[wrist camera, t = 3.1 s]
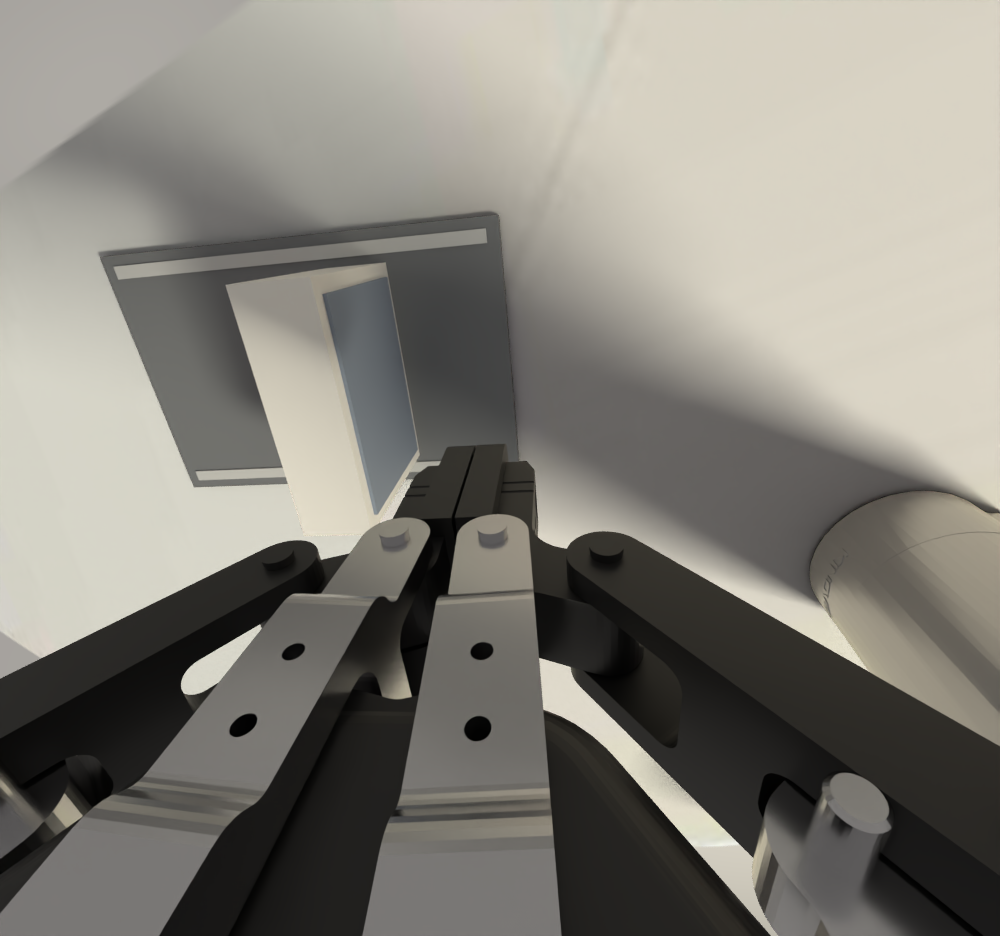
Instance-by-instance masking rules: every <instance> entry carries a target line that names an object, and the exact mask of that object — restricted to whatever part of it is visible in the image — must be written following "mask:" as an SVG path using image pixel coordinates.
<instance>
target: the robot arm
mask: <svg viewBox="0 0 1000 936" xmlns="http://www.w3.org/2000/svg"><path fill="white" fill-rule="evenodd" d="M810 581H811V586H812V590H813V592H814V593H815V595H816V597H817V599H818V600H819V602H820V603H821V605H822V606H823V607H824V609H825V610H826V612H827V613H828V615H829V616H830V617H831V619H832V620H833V621H834V623H835V624H836V626H837V627H838V628H839V630H840V631H841V633H842V634H843V635H844V637H845V638H846V640H847V641H848V642H849V644H850V645H851V647H852V648H853V650H854V651H855V653H856V654H857V655H858V657H859V658H860V660H861V661H862V662H863V664H864V665H865V667H866V668H867V669H868V671H869V672H868V671H867V670H865V669H863V668H861V667H860V666H858V665H856V664H854V663H852V662H851V661H849V660H847V659H845V658H844V657H842V656H840V655H838V654H837V653H835V652H833V651H831V650H830V649H828V648H826V647H824V646H823V645H821V644H819V643H817V642H815V641H814V640H812V639H810V638H808V637H807V636H805V635H803V634H801V633H800V632H798V631H796V630H794V629H793V628H791V627H789V626H787V625H786V624H784V623H782V622H780V621H778V620H777V619H775V618H773V617H771V616H770V615H768V614H766V613H764V612H763V611H761V610H759V609H757V608H756V607H754V606H752V605H750V604H749V603H747V602H745V601H743V600H741V599H740V598H738V597H736V596H734V595H733V594H731V593H729V592H727V591H726V590H724V589H722V588H720V587H719V586H717V585H715V584H713V583H712V582H710V581H708V580H706V579H705V578H703V577H701V576H699V575H697V574H696V573H694V572H692V571H690V570H689V569H687V568H685V567H683V566H682V565H680V564H678V563H676V562H675V561H673V560H671V559H669V558H668V557H666V556H664V555H662V554H660V553H659V552H657V551H655V550H653V549H652V548H650V547H648V546H646V545H645V544H643V543H641V542H639V541H638V540H636V539H634V538H632V537H630V536H627V535H624V534H621V533H616V532H605V531H603V532H593V533H588V534H585V535H582V536H580V537H578V538H576V539H575V540H574V541H572V542H571V543H570V545H569V546H568V548H567V549H564V548H560V547H555V546H552V545H549V544H547V543H545V542H543V541H542V540H540V539H539V538H538V514H537V499H536V485H535V471H534V469H533V468H532V467H531V466H530V464H529V463H528V462H527V461H519V462H508V452H507V446H506V444H489V445H477V447H476V445H471V446H453V447H447V448H446V450H445V453H444V455H443V457H442V459H441V462H440V464H439V466H427V467H426V468H425V469H423V470H422V471H421V472H419V473H418V474H417V475H416V476H415V477H414V479H413V481H412V483H411V485H410V488H409V489H408V491H407V492H406V494H405V497H404V498H403V500H402V502H401V504H400V506H399V508H398V510H397V512H396V514H395V515H394V517H393V519H391V520H387V521H384V522H382V523H379V524H377V525H375V526H373V527H372V528H370V529H369V530H368V531H366V532H365V533H364V535H363V536H362V537H361V538H360V540H359V541H358V543H357V544H356V545H355V547H354V548H353V550H352V551H351V552H350V553H349V554H345V555H341V556H337V557H332V558H328V559H323V560H321V559H320V556H319V553H318V549H317V547H316V546H315V545H314V544H312V543H311V542H307V541H301V540H295V541H287V542H282V543H279V544H275V545H273V546H270V547H268V548H265V549H263V550H261V551H259V552H257V553H255V554H253V555H251V556H249V557H247V558H245V559H243V560H241V561H239V562H237V563H235V564H233V565H231V566H229V567H227V568H225V569H223V570H221V571H218V572H216V573H214V574H212V575H210V576H208V577H206V578H204V579H202V580H200V581H198V582H196V583H194V584H192V585H190V586H188V587H186V588H184V589H182V590H180V591H178V592H176V593H174V594H172V595H170V596H168V597H166V598H164V599H161V600H159V601H157V602H155V603H153V604H151V605H149V606H147V607H145V608H143V609H141V610H139V611H137V612H135V613H133V614H131V615H129V616H127V617H125V618H123V619H121V620H119V621H117V622H115V623H113V624H111V625H109V626H107V627H104V628H102V629H100V630H98V631H96V632H94V633H92V634H90V635H88V636H86V637H84V638H82V639H80V640H78V641H76V642H74V643H72V644H70V645H68V646H66V647H64V648H62V649H60V650H58V651H56V652H54V653H52V654H50V655H47V656H45V657H43V658H41V659H39V660H37V661H35V662H33V663H31V664H29V665H28V666H25V667H23V668H21V669H19V670H17V671H15V672H13V673H11V674H9V675H7V676H5V677H3V678H1V679H0V936H770V934H769V933H768V932H767V931H766V930H765V929H764V928H763V926H762V925H761V924H760V923H759V922H758V921H757V920H756V918H755V917H754V916H753V915H752V914H751V913H750V912H749V911H748V909H747V908H746V907H745V906H744V905H743V903H742V902H741V901H740V900H739V899H738V898H737V897H736V895H735V894H734V893H733V892H732V891H731V890H730V889H729V887H728V886H727V885H726V884H725V883H724V882H723V881H722V880H721V878H719V876H718V875H717V874H716V873H715V871H714V870H713V869H712V868H711V867H710V866H709V865H708V863H707V862H706V861H705V860H704V859H703V858H702V857H701V856H700V854H699V853H698V852H697V851H696V850H695V849H694V847H693V846H692V845H691V844H690V843H689V842H688V841H687V839H686V838H685V837H684V836H683V835H682V834H681V833H680V831H679V830H678V829H677V828H676V827H675V826H674V825H673V823H672V822H671V821H670V820H669V819H668V818H667V817H666V815H665V814H664V813H663V812H662V811H661V810H660V809H659V807H658V806H657V805H656V804H655V803H654V802H653V801H652V799H651V798H650V797H649V796H648V795H647V794H646V793H645V791H644V790H643V789H642V788H641V787H640V786H639V785H638V783H637V782H636V781H635V780H634V779H633V778H632V777H631V775H630V774H629V773H628V772H627V771H626V770H625V769H624V767H623V766H622V765H621V764H620V763H619V762H618V761H617V759H616V758H615V757H614V756H613V755H612V754H611V753H610V752H609V751H608V750H607V749H606V748H605V747H604V746H603V745H602V744H601V743H600V742H598V741H597V740H596V739H595V738H594V737H593V736H591V735H590V734H589V733H587V732H586V731H584V730H583V729H581V728H580V727H579V726H577V725H576V724H574V723H572V722H570V721H568V720H566V719H565V718H563V717H561V716H558V715H556V714H553V713H551V712H548V711H546V710H543V701H542V689H541V677H540V664H539V658H542V659H545V660H549V661H552V662H556V663H559V664H563V665H566V666H570V667H571V672H572V675H573V677H574V679H575V681H576V682H577V683H578V685H579V686H580V687H581V688H582V689H583V690H584V691H585V692H586V693H587V694H588V695H589V696H590V697H591V698H592V699H593V700H594V701H595V702H596V703H597V704H598V705H599V706H600V707H601V708H602V709H603V710H604V711H605V712H606V713H607V714H608V715H609V716H610V717H611V718H612V719H613V720H615V721H616V722H617V723H618V724H619V725H620V726H621V727H622V728H623V729H624V730H625V731H626V732H627V733H628V734H629V735H630V736H631V737H632V738H633V739H634V740H635V741H636V742H637V743H638V744H639V745H640V746H641V747H642V748H643V749H644V750H645V751H646V752H647V753H648V754H649V755H650V756H651V757H652V758H653V759H654V760H655V761H656V762H657V763H658V764H659V765H660V766H661V767H662V768H663V769H664V770H665V771H666V772H667V773H668V774H669V775H670V776H671V777H672V778H673V779H674V780H675V781H676V782H677V783H678V784H679V785H680V786H681V787H682V788H683V789H684V790H685V791H686V792H687V793H688V794H689V795H690V796H691V797H692V798H693V799H694V800H695V801H696V802H697V803H698V804H699V805H700V806H701V807H702V808H703V809H704V810H705V811H706V812H707V813H708V814H709V815H710V816H712V817H713V818H714V819H715V820H716V821H717V822H718V823H719V824H720V825H721V826H722V827H723V828H724V829H725V830H726V831H727V832H728V833H729V834H730V835H731V836H732V837H733V838H734V839H735V840H736V841H737V842H738V843H739V844H740V845H741V846H742V847H743V848H744V849H745V850H746V851H747V852H748V853H749V854H750V855H751V856H752V857H753V864H752V879H753V884H754V889H755V893H756V896H757V899H758V902H759V904H760V906H761V908H762V910H763V913H764V915H765V917H766V918H767V920H768V921H769V923H770V925H771V926H772V928H773V929H774V931H775V932H776V933H777V934H778V936H1000V513H986V512H984V511H983V510H981V509H979V508H978V507H976V506H975V505H973V504H972V503H970V502H969V501H967V500H965V499H962V498H960V497H957V496H955V495H952V494H948V493H941V492H935V491H911V492H905V493H900V494H894V495H890V496H887V497H884V498H881V499H878V500H875V501H872V502H870V503H868V504H866V505H864V506H862V507H860V508H858V509H856V510H854V511H853V512H851V513H850V514H849V515H847V516H846V517H844V518H843V519H842V520H840V521H839V522H838V523H836V524H835V526H834V527H833V528H832V529H831V530H830V531H829V532H828V533H827V534H826V535H825V536H824V537H823V539H822V541H821V542H820V544H819V545H818V547H817V548H816V550H815V553H814V555H813V558H812V561H811V565H810ZM259 624H260V625H261V627H262V629H261V630H260V632H259V633H258V634H257V635H256V637H255V638H254V639H253V641H252V642H251V643H250V644H249V646H248V647H247V648H246V649H245V651H244V652H243V653H242V654H241V656H240V657H239V658H238V659H237V661H236V662H235V663H234V664H233V666H232V667H231V668H230V669H229V671H228V672H227V673H226V674H225V676H224V677H223V678H222V679H221V681H220V682H219V683H217V684H216V685H214V686H212V687H211V688H209V689H208V690H206V691H204V692H202V693H199V694H196V695H187V694H184V693H183V692H182V689H181V680H182V677H183V675H184V673H185V672H186V671H187V669H188V668H189V667H190V666H191V665H192V664H194V663H195V662H196V661H198V660H200V659H201V658H203V657H205V656H206V655H208V654H210V653H212V652H213V651H215V650H217V649H218V648H220V647H222V646H223V645H225V644H227V643H229V642H230V641H232V640H234V639H235V638H237V637H239V636H240V635H242V634H244V633H246V632H247V631H249V630H251V629H252V628H254V627H256V626H258V625H259Z"/></svg>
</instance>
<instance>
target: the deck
mask: <svg viewBox="0 0 1000 936" xmlns="http://www.w3.org/2000/svg"><path fill="white" fill-rule="evenodd" d="M225 286H226V289H227V292H228V295H229V298H230V301H231V305H232V308H233V311H234V314H235V317H236V321H237V324H238V327H239V330H240V333H241V336H242V340H243V343H244V346H245V349H246V352H247V356H248V359H249V362H250V365H251V368H252V371H253V375H254V378H255V381H256V384H257V387H258V391H259V394H260V397H261V400H262V403H263V406H264V410H265V413H266V416H267V419H268V422H269V425H270V429H271V432H272V435H273V438H274V441H275V445H276V448H277V451H278V454H279V457H280V460H281V464H282V467H283V470H284V473H285V476H286V480H287V483H288V486H289V489H290V492H291V495H292V499H293V502H294V505H295V508H296V511H297V515H298V518H299V521H300V524H301V527H302V530H303V534H304V536H337V535H364V533H365V532H366V531H368V530H369V529H370V528H372V527H373V526H375V525H377V524H379V523H380V521H381V519H382V518H383V516H384V514H385V513H386V511H387V509H388V508H389V506H390V504H391V503H392V501H393V499H394V498H395V496H396V494H397V492H398V491H399V489H400V487H401V486H402V484H403V482H404V481H405V479H406V477H407V476H408V474H409V472H410V471H411V469H412V467H413V466H414V464H415V462H416V460H417V459H418V457H419V455H420V453H419V448H418V442H417V436H416V431H415V425H414V419H413V414H412V408H411V402H410V397H409V391H408V386H407V380H406V374H405V369H404V363H403V357H402V352H401V346H400V341H399V335H398V329H397V324H396V318H395V312H394V307H393V301H392V295H391V290H390V284H389V279H388V273H387V267H386V262H384V263H374V264H364V265H354V266H343V267H333V268H324V269H318V270H312V271H306V272H300V273H294V274H288V275H282V276H276V277H270V278H264V279H258V280H252V281H246V282H240V283H234V284H228V285H225Z"/></svg>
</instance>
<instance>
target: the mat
mask: <svg viewBox="0 0 1000 936" xmlns="http://www.w3.org/2000/svg"><path fill="white" fill-rule="evenodd" d="M100 259H101V261H102V264H103V266H104V268H105V271H106V273H107V276H108V278H109V281H110V283H111V286H112V288H113V290H114V293H115V295H116V298H117V300H118V303H119V305H120V308H121V310H122V312H123V315H124V317H125V320H126V322H127V325H128V327H129V329H130V332H131V334H132V337H133V339H134V342H135V344H136V347H137V349H138V351H139V354H140V356H141V359H142V361H143V364H144V366H145V369H146V371H147V373H148V376H149V378H150V381H151V383H152V386H153V388H154V391H155V393H156V395H157V398H158V400H159V403H160V405H161V408H162V410H163V413H164V415H165V417H166V420H167V422H168V425H169V427H170V430H171V432H172V435H173V437H174V439H175V442H176V444H177V447H178V449H179V452H180V454H181V457H182V459H183V461H184V464H185V466H186V469H187V471H188V474H189V476H190V478H191V481H192V483H193V486H194V487H214V486H241V485H268V484H288V483H287V480H286V476H285V473H284V470H283V467H282V464H281V460H280V457H279V454H278V451H277V448H276V445H275V441H274V438H273V435H272V432H271V429H270V425H269V422H268V419H267V416H266V413H265V410H264V406H263V403H262V400H261V397H260V394H259V391H258V387H257V384H256V381H255V378H254V375H253V371H252V368H251V365H250V362H249V359H248V356H247V352H246V349H245V346H244V343H243V340H242V336H241V333H240V330H239V327H238V324H237V321H236V317H235V314H234V311H233V308H232V305H231V301H230V298H229V295H228V292H227V289H226V286H225V285H228V284H234V283H240V282H246V281H252V280H258V279H264V278H270V277H276V276H282V275H288V274H294V273H300V272H306V271H312V270H318V269H324V268H333V267H343V266H354V265H364V264H374V263H384V262H386V267H387V273H388V279H389V284H390V290H391V295H392V301H393V307H394V312H395V318H396V324H397V329H398V335H399V341H400V346H401V352H402V357H403V363H404V369H405V374H406V380H407V386H408V391H409V397H410V402H411V408H412V414H413V419H414V425H415V431H416V436H417V442H418V448H419V453H420V455H419V457H418V459H417V460H416V462H415V464H414V466H413V467H412V469H411V471H410V472H409V474H408V476H407V477H406V479H414V477H415V476H416V475H417V474H418V473H419V472H421V471H422V470H423V469H425V468H426V467H427V466H439V464H440V462H441V459H442V457H443V455H444V453H445V450H446V448H447V447H453V446H471V445H476V447H477V445H489V444H506V446H507V452H508V462H519V455H518V443H517V431H516V419H515V406H514V394H513V382H512V370H511V357H510V345H509V333H508V321H507V309H506V296H505V284H504V272H503V260H502V248H501V235H500V223H499V215H488V216H479V217H470V218H460V219H451V220H442V221H432V222H423V223H413V224H404V225H395V226H385V227H376V228H367V229H357V230H348V231H338V232H329V233H320V234H310V235H301V236H292V237H282V238H273V239H263V240H254V241H245V242H235V243H226V244H217V245H207V246H198V247H188V248H179V249H170V250H160V251H151V252H142V253H132V254H123V255H113V256H104V257H100Z"/></svg>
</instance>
